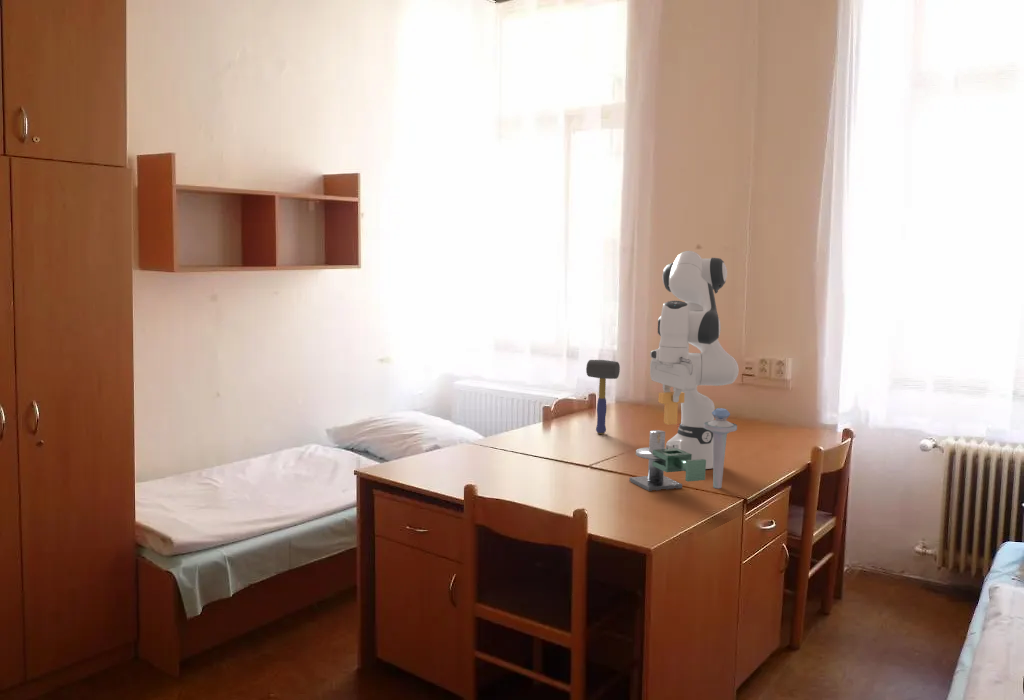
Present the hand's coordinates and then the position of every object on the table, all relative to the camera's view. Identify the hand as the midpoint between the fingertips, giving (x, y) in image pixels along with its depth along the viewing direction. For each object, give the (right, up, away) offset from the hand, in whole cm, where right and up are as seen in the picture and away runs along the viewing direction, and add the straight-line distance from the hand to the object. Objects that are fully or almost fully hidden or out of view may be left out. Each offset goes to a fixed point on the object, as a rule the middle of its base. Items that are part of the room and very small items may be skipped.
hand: (671, 400), depth 262 cm
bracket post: (0, -28, +4) cm, 28 cm away
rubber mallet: (-13, -19, +86) cm, 89 cm away
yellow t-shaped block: (0, -7, +1) cm, 7 cm away
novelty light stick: (+16, -28, +10) cm, 34 cm away
